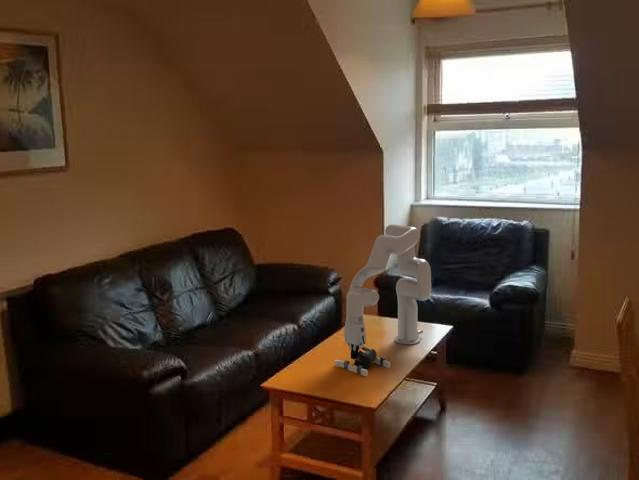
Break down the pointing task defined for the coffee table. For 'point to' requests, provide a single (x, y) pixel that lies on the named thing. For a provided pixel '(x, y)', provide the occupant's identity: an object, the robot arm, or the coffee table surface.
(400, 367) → the coffee table surface
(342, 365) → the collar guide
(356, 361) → the end cap
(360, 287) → the robot arm
